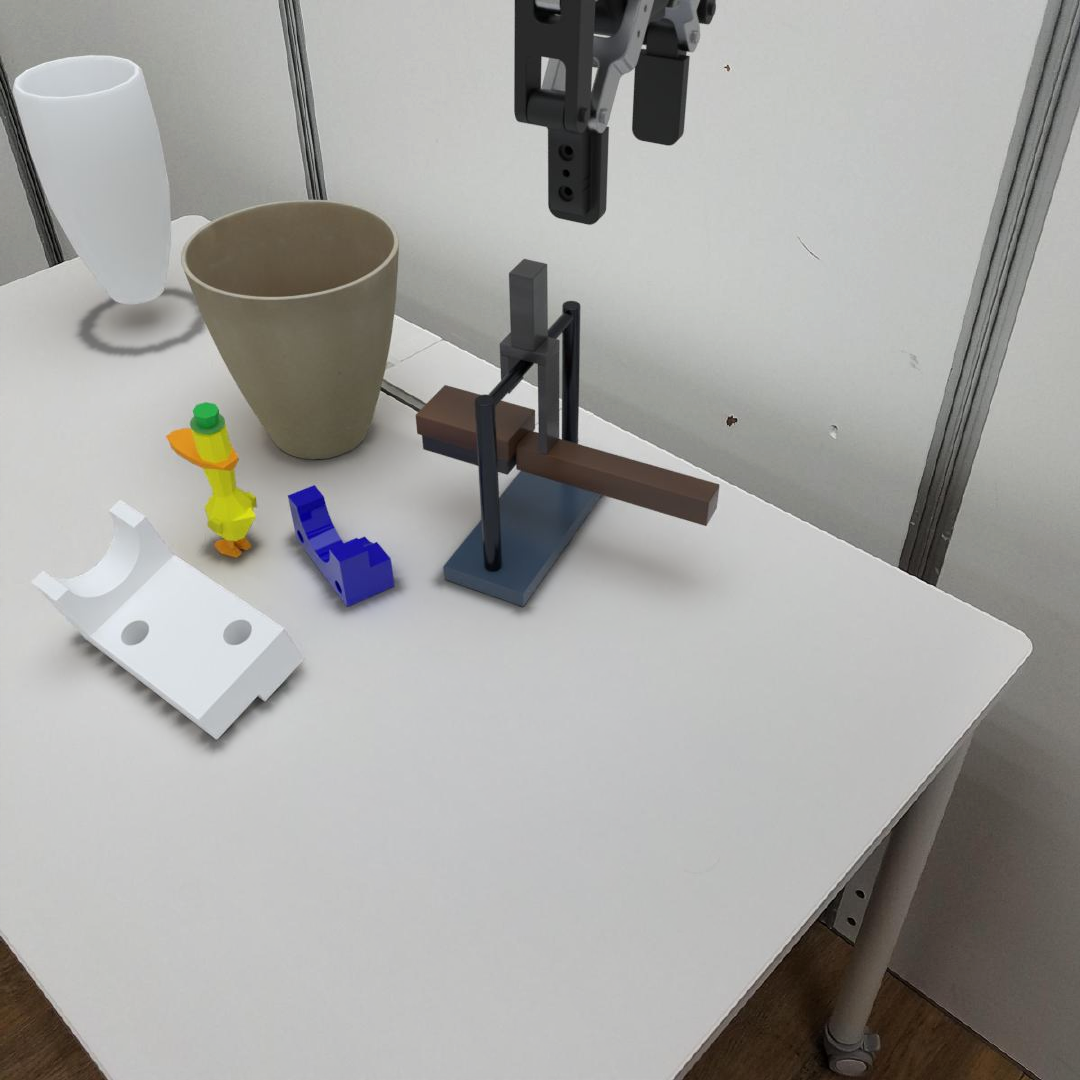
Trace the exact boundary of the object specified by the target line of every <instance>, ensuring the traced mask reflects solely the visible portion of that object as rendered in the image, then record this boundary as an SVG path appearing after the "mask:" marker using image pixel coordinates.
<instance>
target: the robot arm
mask: <svg viewBox="0 0 1080 1080" xmlns="http://www.w3.org/2000/svg"><path fill="white" fill-rule="evenodd" d="M716 2H717V0H514V38H513V39H514V40H513V41H514V44H513V45H514V46H513V48H514V49H513V50H514V53H513V54H514V57H513V58H514V59H513V61H514V63H513V64H514V67H513V69H514V74H513V75H514V77H513V78H514V82H513V83H514V84H513V86H514V87H513V89H514V90H513V96H514V97H513V111H514V112H513V113H514V116H515V120H516V121H517V122H518V123H521V124H527V125H533V126H538V127H545V128H546V129H547V205H548V210H549V212H550V213H551V215H552V216H553V217H555V218H557V219H560V220H565V221H569V222H573V223H578V224H583V225H588V226H591V225H592V226H593V225H595V224H596V223H597V222H598V221H599V220H601V218H602V217H603V216H604V215H605V214H606V211H607V203H608V202H607V199H608V198H607V196H608V169H609V168H608V167H609V137H610V135H609V134H610V126H608V124H609V121H610V118H611V113H612V109H613V106H614V103H615V99H616V95H617V91H618V87H619V84H620V80H621V78H622V77H623V76H624V75H626V74H629V73H630V72H632V71H633V70H634V75H633V76H634V77H633V96H632V98H633V99H632V101H633V102H632V119H631V120H632V121H631V132H632V134H633V136H634V137H635V139H636V140H638V141H641V142H645V143H651V144H658V145H662V146H663V145H664V146H673V145H675V144H676V143H677V142H678V141H679V140H680V139H681V138H682V137H683V135H684V133H685V120H686V109H687V98H688V97H687V95H688V85H689V84H688V83H689V70H690V68H689V67H690V58H691V56H690V55H687V53H694V52H695V51H696V49H697V47H698V44H699V43H700V39H701V25H710V24H711V22H712V21H713V18H714V16H715V14H716V10H717V3H716ZM700 24H701V25H700ZM643 46H645V48H642V47H643ZM543 58H547V59H548V61H547V65H546V69H545V72H544V77H543V79H542V59H543ZM593 68H595V69H596V72H595V77H594V80H593ZM542 80H543V81H542ZM592 82H593V83H592Z"/></svg>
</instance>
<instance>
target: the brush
mask: <svg viewBox="0 0 1080 1080" xmlns="http://www.w3.org/2000/svg"><path fill="white" fill-rule="evenodd" d="M548 290H549V289H548V263H545V262H541V261H536V260H532V259H527V258H523V259H522V260H521V261H520V262H518V263H517V265H516V266H515V267H514V268H512V269H511V270H510V271H509V272H508V291H509V295H508V296H509V323H510V325H509V326H510V332H509V333H508V334H507V335H506V336H505V337H504V338H503V339H502V340H501V341H500V342H499V362H500V366H499V367H500V381H501V380H502V379H503V378H504V377H505V376H506V375H507V374H508V373H509V371H510V370H511V369H512V368H513V367H514V366H515V365H516V364H517V363H518V362H519V361H520V360H524V361H528V362H532V363H534V365H535V364H536V365H537V416H538V417H537V421H538V422H537V423H538V432H537V431H535V430H536V410H535V409H534V408H530V407H527V406H523V405H518V404H515V403H512V402H508V401H505V400H501V401H500V402H499V403H498V405H497V406H496V407H495V412H496V435H497V459H498V473H500V474H502V475H503V474H504V475H509V474H510V473H511V472H512V470H513V469H514V468H515V467H516V468H515V469H516V471H519V472H520V471H523V472H527V473H530V474H533V475H537V476H540V477H543V478H547V479H550V480H553V481H557V482H560V483H563V484H567V485H570V486H573V487H577V488H580V489H583V490H587V491H590V492H594V493H597V494H600V495H602V496H604V497H607V498H611V499H613V500H617V501H621V502H623V503H627V504H631V505H633V506H637V507H641V508H644V509H647V510H651V511H654V512H658V513H660V514H664V515H667V516H669V517H670V516H671V517H674V518H676V519H677V518H678V519H681V520H684V521H688V522H691V523H694V524H697V525H699V526H704V527H707V526H708V524H709V523H710V521H711V519H712V517H713V516H714V514H715V512H716V510H717V509H718V502H719V501H718V500H719V493H720V484H719V483H716V482H712V481H709V480H705V479H703V478H699V477H694V476H692V475H689V474H685V473H681V472H677V471H674V470H670V469H668V468H664V467H660V466H657V465H654V464H649V463H646V462H643V461H640V460H635V459H632V458H629V457H625V456H622V455H618V454H614V453H612V452H607V451H605V450H601V449H597V448H593V447H590V446H587V445H583V444H579V443H578V444H576V443H573V442H569V441H566V440H562V438H560V339H558V338H557V339H554V338H550V337H548V329H549V327H548V326H549V322H548V320H549V318H548V317H549V315H548V310H549V309H548V308H549V307H548V305H549V304H548V300H549V299H548V297H549V296H548V293H549V292H548ZM523 379H524V376H523V377H522V378H521V379H520V380H519V381H518V382H517V383H516V384H515V386H514V387H513V388H512V389H511V390H510V391H509V392H508V393H507V395H510V394H511V393H512V392H513V391H514V389H516V387H517V386H518V385H519V384H520V383H521V382H522V381H523ZM480 395H481V394H479V393H476V392H473V391H469V390H465V389H462V388H457V387H455V386H451V385H447V384H444V385H443V386H442V387H441V388H440V389H439V391H437V392H436V393H435V394H434V395H433V397H431V398H430V399H429V400H428V402H426V404H424V406H423V407H422V408H420V409H419V411H418V412H417V413H416V414H415V424H416V433H417V435H420V436H421V441H422V442H421V443H422V450H424V451H427V452H431V453H434V454H438V455H441V456H442V457H443V456H445V457H447V458H451V459H453V460H457V461H461V462H464V463H467V464H470V465H473V466H476V467H478V452H477V435H476V418H475V399H476V397H478V396H480Z"/></svg>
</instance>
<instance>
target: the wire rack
mask: <svg viewBox="0 0 1080 1080" xmlns="http://www.w3.org/2000/svg"><path fill="white" fill-rule="evenodd" d="M581 306H582V305H581V304H580V302H578V301H575V300H568V301H567V300H566V301H564V302H563V303H562V305H561V307H562V308H561V311H562V312H561V315H560V316H558V318H557V319H556V320H555V321H554V322H553V323H552V325H551V326H550V327H548V337H550V338H554V339H558V338H559V337H560V335H561V439H562V440H566V441H569V442H573V443H576V444H579V422H580V421H579V420H580V419H579V417H580V415H579V414H580V364H581V363H580V362H581V361H580V358H581V357H580V356H581V355H580V354H581ZM534 365H535V363H532V362H528V361H524V360H520V361H519V362H518V363H517V364H516V365H515V366H514V367H513V368H512V369H511V370H510V371H509V373H508V374H507V375H506V376H505V377H504V378H503V379H502V380H501V379H500V381H499V382H498V383H497V384H496V385H495V386H494V388H493V389H492V390H491V391H490V392H489V393H488V394H480V396H478V397H476V399H475V418H476V435H477V452H478V466H477V467H478V485H479V486H478V487H479V502H480V518H481V519H480V521H478V523H477V524H476V525H475V527H474V528H473V529H472V530H471V531H470V532H469V534H468V535H467V536H466V538H465V539H464V540H463V541H462V542H461V544H460V545H459V546H458V548H457V549H456V550H455V551H454V552H453V554H452V555H451V557H450V558H449V559H448V560H447V562H446V563H444V565H443V566H442V569H443V576H444V577H443V579H444V580H445V581H448V582H452V583H454V584H457V585H460V586H463V587H466V588H468V589H472V590H475V591H476V592H480V593H483V594H485V595H488V596H491V597H494V598H497V599H500V600H503V601H505V602H509V603H512V604H515V605H517V606H520V607H525V605H526V604H527V602H528V601H529V599H530V598H531V597H532V595H533V594H534V592H535V591H536V589H537V588H538V587H539V586H540V583H541V582H542V581H543V580H544V578H545V576H546V575H547V574H548V572H549V571H550V570H551V568H552V567H553V565H554V564H555V563H556V561H557V560H558V558H559V557H560V555H561V554H562V553H563V552H564V550H565V548H566V547H567V546H568V544H569V543H570V541H571V540H572V539H573V537H574V535H575V534H576V533H577V531H578V530H579V529H580V527H581V525H582V524H583V523H584V521H585V520H586V519H587V517H588V516H589V514H590V513H591V511H592V510H593V508H595V506H596V504H597V503H598V501H600V498H601V497H603V495H600V494H597V493H594V492H590V491H587V490H583V489H580V488H577V487H573V486H570V485H567V484H563V483H560V482H557V481H553V480H550V479H547V478H543V477H540V476H537V475H533V474H530V473H527V472H523V471H520V470H519V471H518V473H517V475H516V476H515V477H514V478H513V479H512V481H511V482H510V483H509V484H508V486H507V487H506V488H505V490H504V491H503V492H502V493H501V494H500V485H499V482H500V481H499V472H498V459H497V435H496V412H495V407H496V406H497V405H498V403H499V402H500V401H503V399H504V398H505V397H506V396H507V395H508V392H509V391H510V390H511V389H512V388H513V387H514V386H515V384H516V383H517V382H518V381H519V380H520V379H521V378H522V377H523V378H524V376H525V375H526V374H527V372H528V371H529V370H530V369H531V368H532V367H533V366H534Z"/></svg>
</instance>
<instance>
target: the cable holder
mask: <svg viewBox="0 0 1080 1080" xmlns="http://www.w3.org/2000/svg"><path fill="white" fill-rule="evenodd" d="M287 500H288V505H289V510H290V513H291V519H292V523H293V528H294V533H295V537H296V541H297V542H298V544H299V545H300V546H301V547H302V549H303V550H304V552H306V554H307V555H308V556H309V558H310V560H311V561H312V562H313V563H314V565H315V566H316V567H317V569H318V570H319V571H320V573H321V574H322V575H323V576H324V578H325V580H327V582H328V583H329V585H330V586H331V587H332V589H333V590H334V591H335V593H336V594H337V595H338V597H339V598H340V600H341V601H342V602H343V604H344V605H345V607H347V608H348V607H350V606H352V605H355V604H357V603H359V602H362V601H364V600H366V599H368V598H371V597H373V596H375V595H378V594H380V593H382V592H384V591H387V590H390V589H391V588H394V587H395V580H394V579H395V578H394V573H393V565H392V558H391V557H390V556H389V555H388V553H387V552H386V551H385V549H383V547H382V546H381V545H380V544H379V542H378V541H375V542H372V541H371V540H370V539H368V538H367V537H366V536H362V537H359V538H358V537H355V538H353V539H350V540H348V541H346V542H344V541H343V539H342V538H341V536H340V535H339V533H338V531H337V529H336V527H335V524H334V523H333V520H332V518H331V516H330V513H329V511H328V510H329V509H328V507H327V504H326V499H325V496H324V495H323V493H322V492H321V491H320V489H318V487H317V486H316V485H315V484H313V485H311V486H308V487H306V488H303V489H301V490H297V491H295V492H293V493H289V494H287Z"/></svg>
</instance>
